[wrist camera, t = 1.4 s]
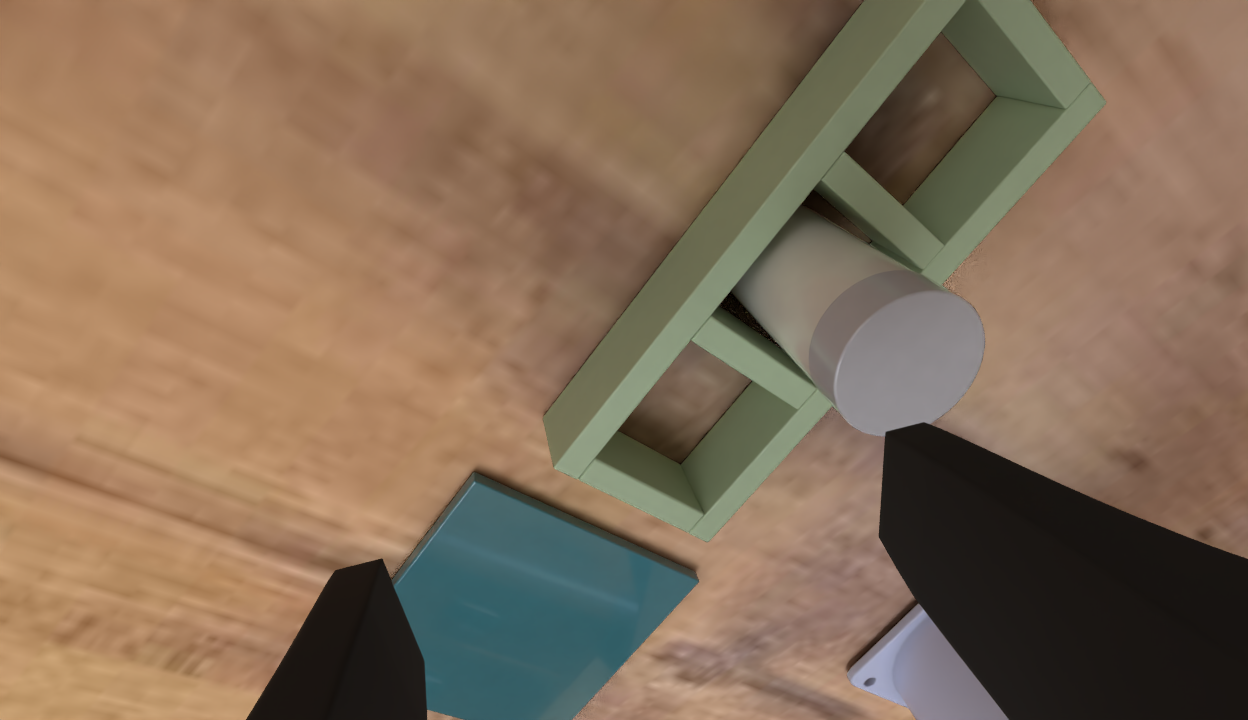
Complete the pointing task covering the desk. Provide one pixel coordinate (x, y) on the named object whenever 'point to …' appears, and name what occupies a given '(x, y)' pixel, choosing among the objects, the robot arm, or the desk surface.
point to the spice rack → (764, 201)
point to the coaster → (528, 605)
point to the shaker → (863, 325)
